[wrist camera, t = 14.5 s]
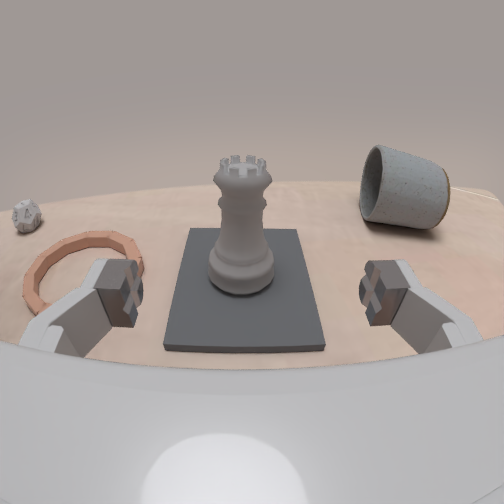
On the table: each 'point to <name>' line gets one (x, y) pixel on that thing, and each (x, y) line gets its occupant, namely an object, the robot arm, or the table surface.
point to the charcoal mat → (244, 303)
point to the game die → (26, 216)
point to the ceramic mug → (403, 189)
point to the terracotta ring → (69, 246)
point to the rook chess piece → (241, 228)
